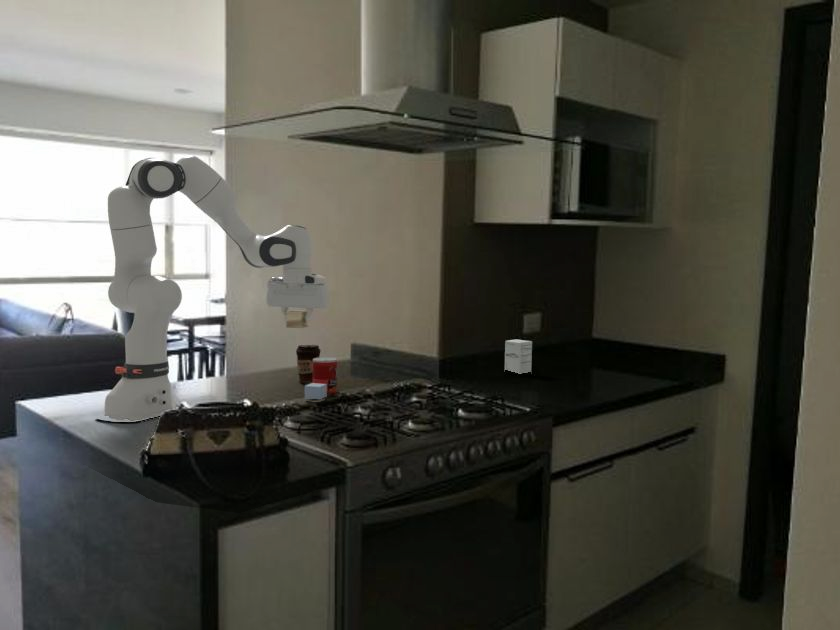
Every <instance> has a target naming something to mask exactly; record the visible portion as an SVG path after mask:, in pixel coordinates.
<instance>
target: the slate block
mask: <svg viewBox="0 0 840 630" xmlns="http://www.w3.org/2000/svg"><path fill="white" fill-rule="evenodd" d="M327 395H328V394H327V384H318V383H307V384H305V385H304V400H305V399H322V398H324V397H328V396H327Z"/></svg>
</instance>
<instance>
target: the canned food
mask: <svg viewBox="0 0 840 630" xmlns="http://www.w3.org/2000/svg"><path fill="white" fill-rule="evenodd" d="M313 383H318V384H327V395H332V394H331V393H334V394H336V393H337V391H338V359H337V358H336V357H331V356H330V357H329V356H324V357H323V356H321V357H320V356H319V358H314V359H313Z"/></svg>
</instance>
